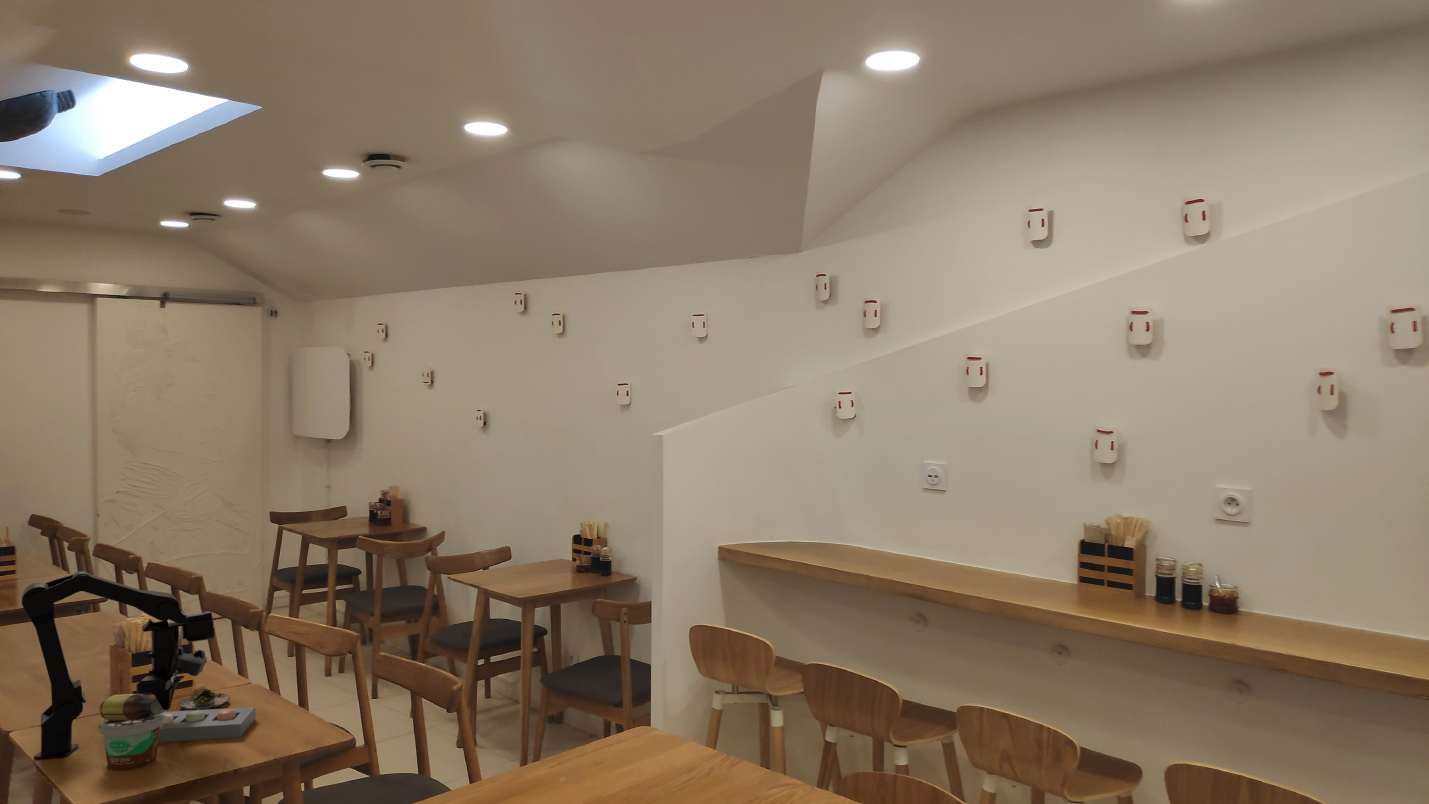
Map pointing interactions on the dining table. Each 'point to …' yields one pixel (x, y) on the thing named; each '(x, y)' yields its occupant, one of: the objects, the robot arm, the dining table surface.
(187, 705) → the burger
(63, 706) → the robot arm
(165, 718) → the cream button
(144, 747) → the food container
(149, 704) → the sauce bottle
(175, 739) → the panel
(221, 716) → the terracotta button
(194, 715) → the sage button
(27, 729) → the dining table surface
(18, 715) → the dining table surface
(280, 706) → the dining table surface
